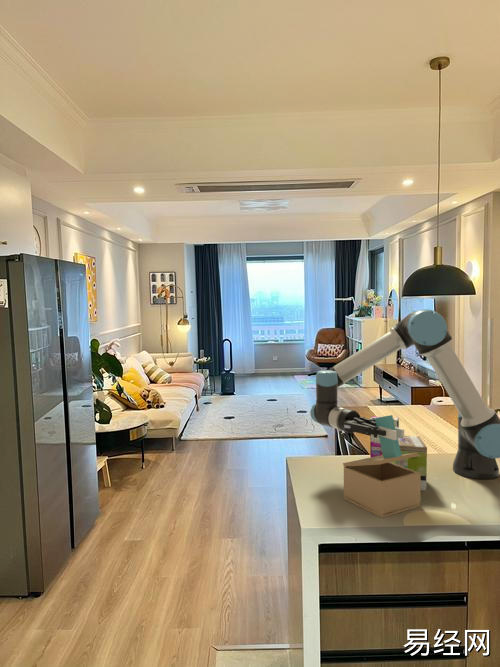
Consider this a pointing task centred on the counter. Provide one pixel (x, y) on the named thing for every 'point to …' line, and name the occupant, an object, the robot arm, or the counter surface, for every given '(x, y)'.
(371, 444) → the candy bar box
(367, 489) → the carton
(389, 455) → the carton lid
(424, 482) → the tea box
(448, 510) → the counter surface
